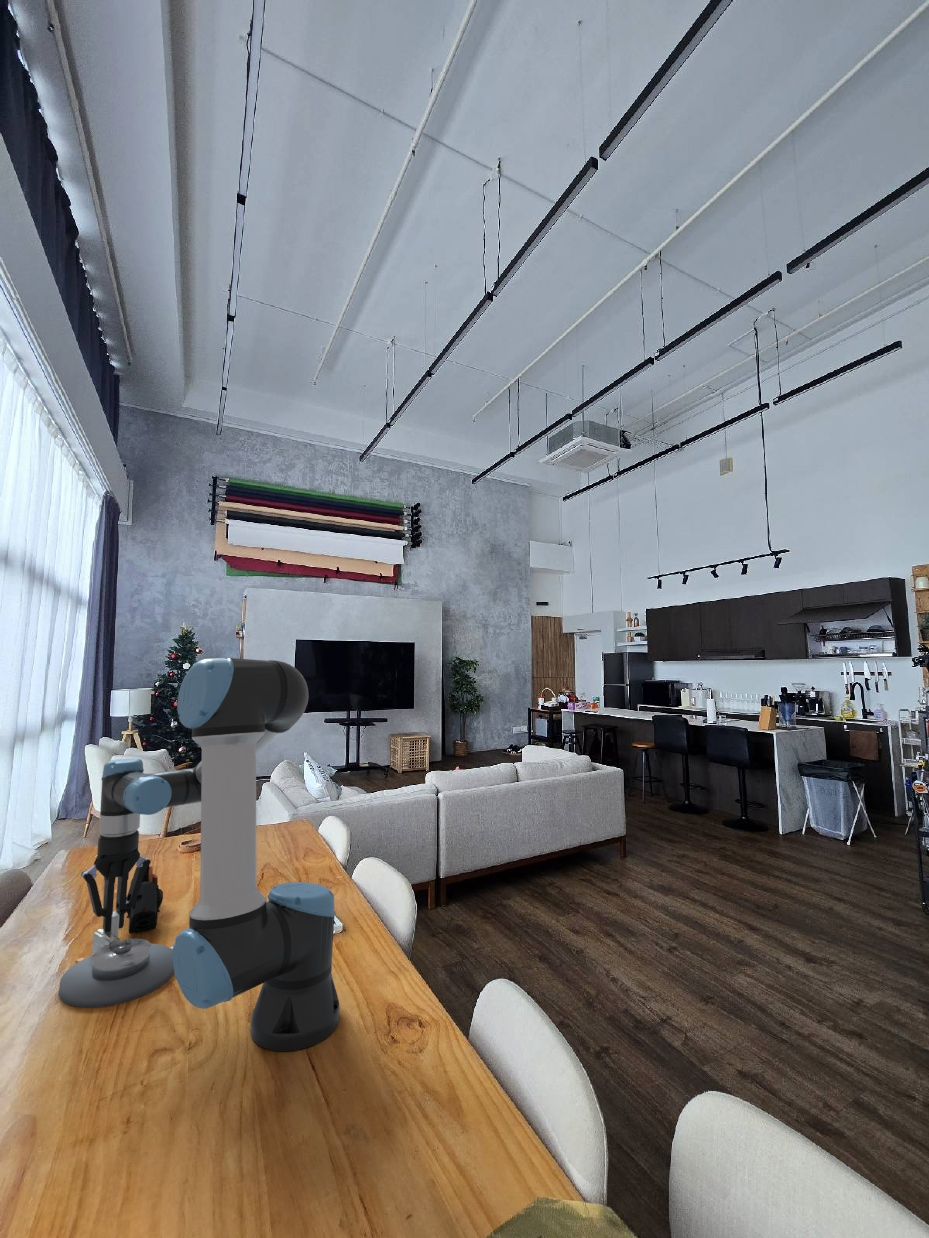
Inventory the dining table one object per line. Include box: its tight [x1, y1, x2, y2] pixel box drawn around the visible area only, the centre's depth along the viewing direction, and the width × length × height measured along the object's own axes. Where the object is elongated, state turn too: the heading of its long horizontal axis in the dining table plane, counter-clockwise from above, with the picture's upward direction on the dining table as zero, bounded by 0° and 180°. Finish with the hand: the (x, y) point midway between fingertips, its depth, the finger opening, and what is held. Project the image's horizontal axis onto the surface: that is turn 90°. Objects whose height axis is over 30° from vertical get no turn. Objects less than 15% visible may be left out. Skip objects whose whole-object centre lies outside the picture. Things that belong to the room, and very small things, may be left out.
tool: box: [125, 865, 164, 935], centre depth 137 cm, size 8×23×15 cm, turn 30°
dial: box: [91, 928, 152, 980], centre depth 112 cm, size 16×10×4 cm, turn 57°
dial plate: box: [58, 943, 175, 1009], centre depth 112 cm, size 22×22×2 cm
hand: (112, 945), depth 117 cm, fingers closed
